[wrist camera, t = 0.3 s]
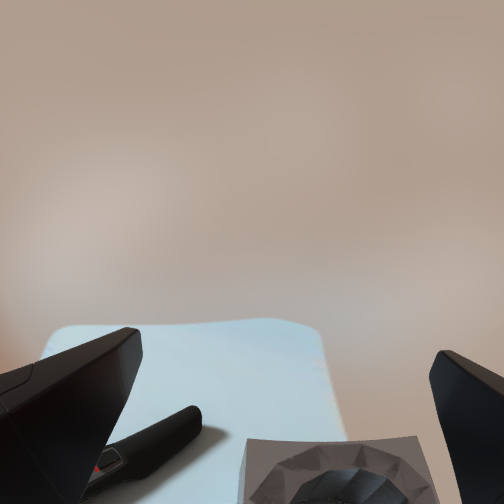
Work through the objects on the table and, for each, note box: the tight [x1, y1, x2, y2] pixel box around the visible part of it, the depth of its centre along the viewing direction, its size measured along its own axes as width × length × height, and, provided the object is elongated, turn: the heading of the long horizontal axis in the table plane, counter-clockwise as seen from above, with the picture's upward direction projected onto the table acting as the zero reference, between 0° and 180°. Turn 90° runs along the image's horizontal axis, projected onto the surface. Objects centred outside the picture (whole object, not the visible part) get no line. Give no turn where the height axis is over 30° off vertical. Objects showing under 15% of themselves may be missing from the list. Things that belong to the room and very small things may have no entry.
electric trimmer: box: [79, 405, 202, 503], centre depth 17 cm, size 4×16×3 cm, turn 138°
